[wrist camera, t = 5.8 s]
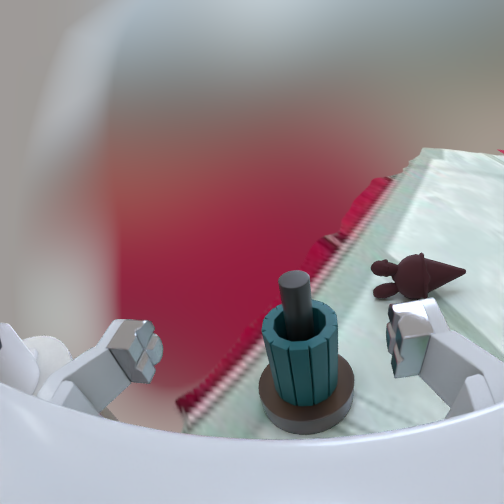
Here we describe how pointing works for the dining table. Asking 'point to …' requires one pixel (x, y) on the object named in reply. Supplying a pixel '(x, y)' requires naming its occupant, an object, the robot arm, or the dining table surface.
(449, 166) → the dining table surface
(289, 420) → the holder
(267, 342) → the teal ribbed hollow cylinder
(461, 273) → the icecream
